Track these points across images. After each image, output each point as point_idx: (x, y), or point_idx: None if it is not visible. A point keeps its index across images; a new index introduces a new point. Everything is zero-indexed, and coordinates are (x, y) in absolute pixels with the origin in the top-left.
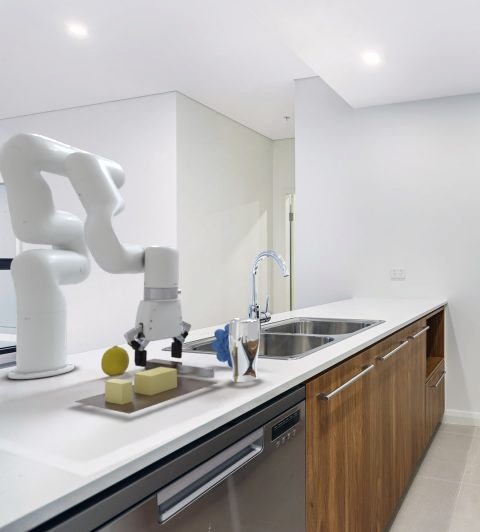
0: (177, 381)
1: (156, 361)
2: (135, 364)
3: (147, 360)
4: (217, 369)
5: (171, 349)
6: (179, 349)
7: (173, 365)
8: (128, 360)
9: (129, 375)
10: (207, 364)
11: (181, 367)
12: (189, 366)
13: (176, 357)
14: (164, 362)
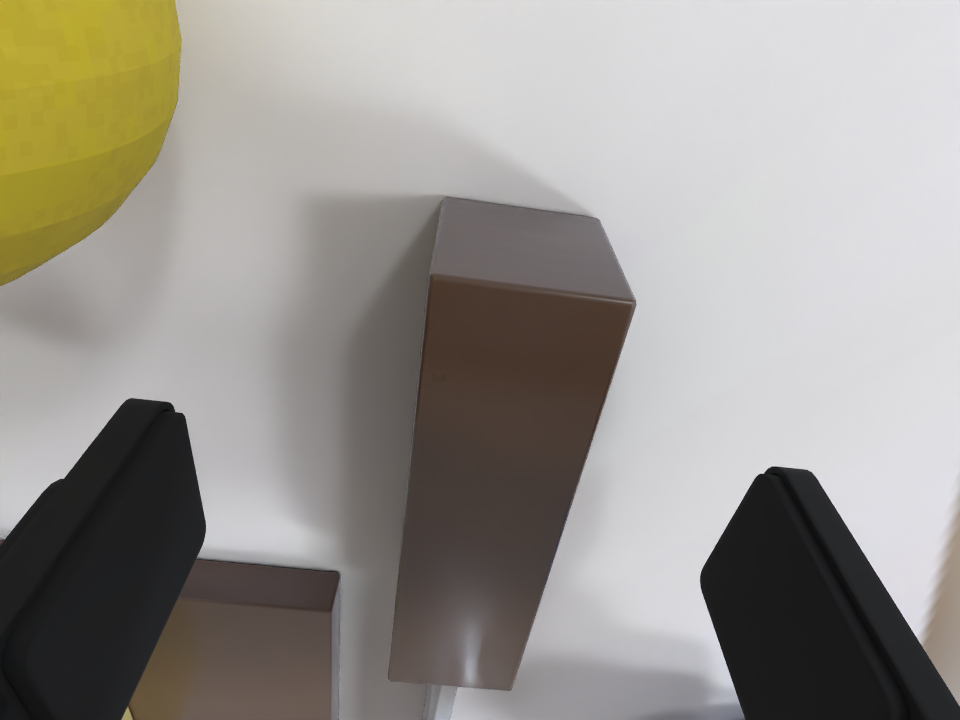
0: None
1: (458, 469)
2: (129, 408)
3: (474, 299)
4: (716, 671)
5: (822, 578)
6: (743, 710)
7: (403, 672)
8: (67, 246)
9: (289, 58)
10: (916, 541)
11: (436, 689)
12: None
13: (719, 548)
14: (443, 578)
